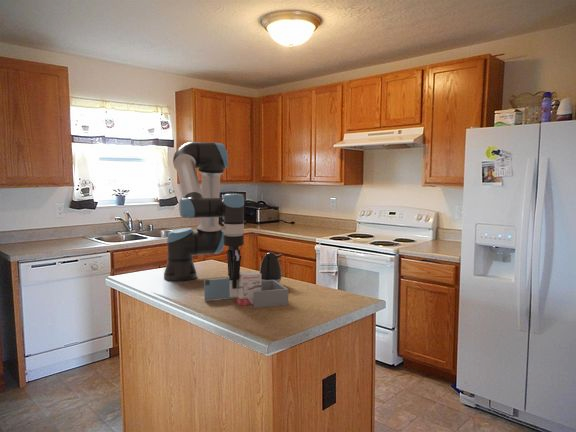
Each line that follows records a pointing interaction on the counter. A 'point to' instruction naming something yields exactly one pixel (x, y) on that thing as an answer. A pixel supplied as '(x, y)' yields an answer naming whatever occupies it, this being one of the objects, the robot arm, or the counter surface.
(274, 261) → the pump dispenser
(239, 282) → the ink box
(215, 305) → the counter surface
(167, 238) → the robot arm
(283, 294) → the grey open box
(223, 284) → the blue-grey flat plate
